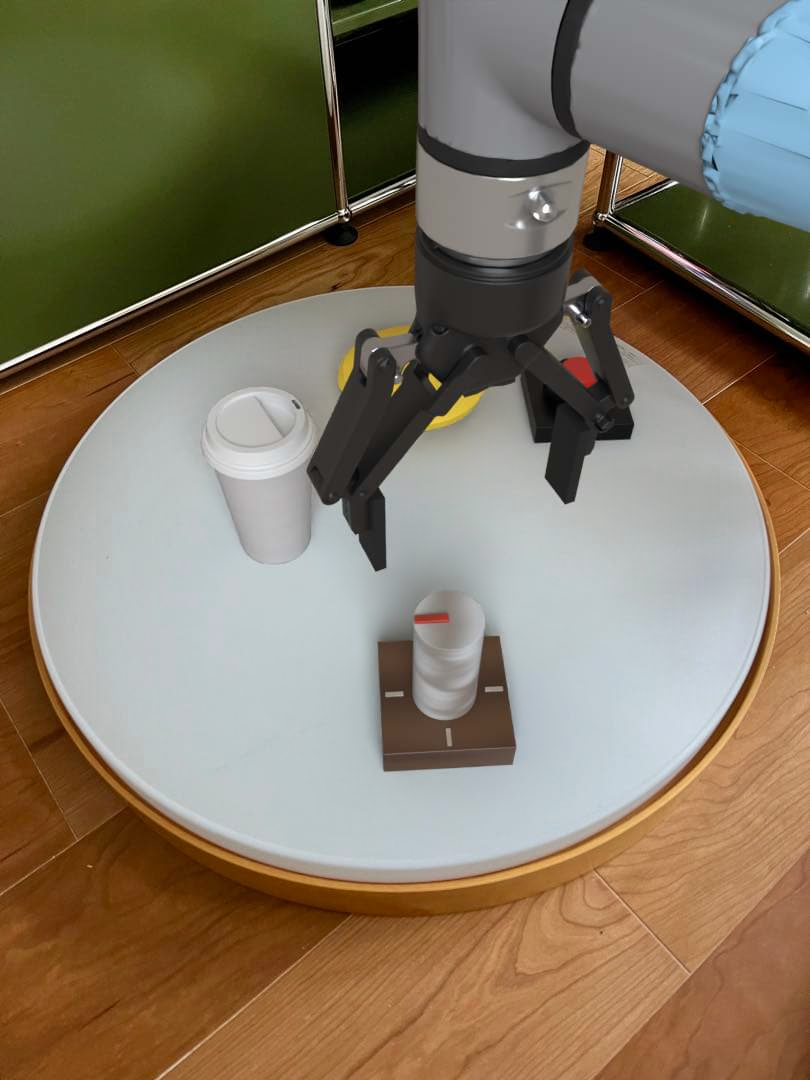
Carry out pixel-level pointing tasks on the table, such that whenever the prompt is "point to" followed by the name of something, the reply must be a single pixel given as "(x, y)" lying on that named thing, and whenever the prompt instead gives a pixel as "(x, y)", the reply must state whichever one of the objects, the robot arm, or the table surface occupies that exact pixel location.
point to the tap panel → (444, 742)
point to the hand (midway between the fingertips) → (468, 521)
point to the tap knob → (447, 654)
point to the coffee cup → (263, 469)
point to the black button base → (544, 408)
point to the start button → (580, 370)
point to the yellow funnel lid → (346, 366)
